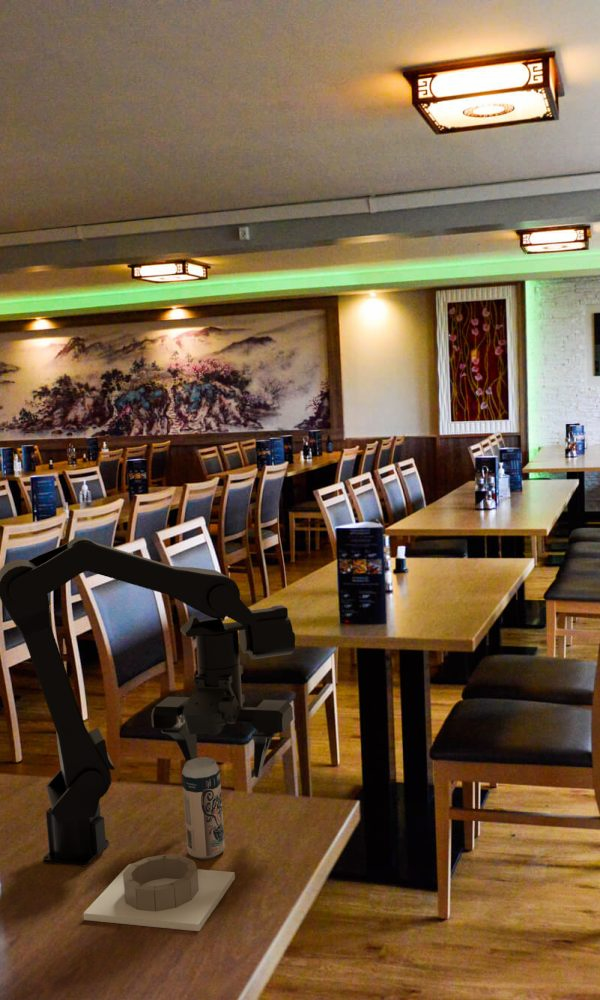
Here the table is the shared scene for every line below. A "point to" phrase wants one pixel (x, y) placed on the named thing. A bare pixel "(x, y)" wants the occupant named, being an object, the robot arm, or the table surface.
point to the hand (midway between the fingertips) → (225, 774)
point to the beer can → (203, 808)
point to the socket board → (167, 917)
